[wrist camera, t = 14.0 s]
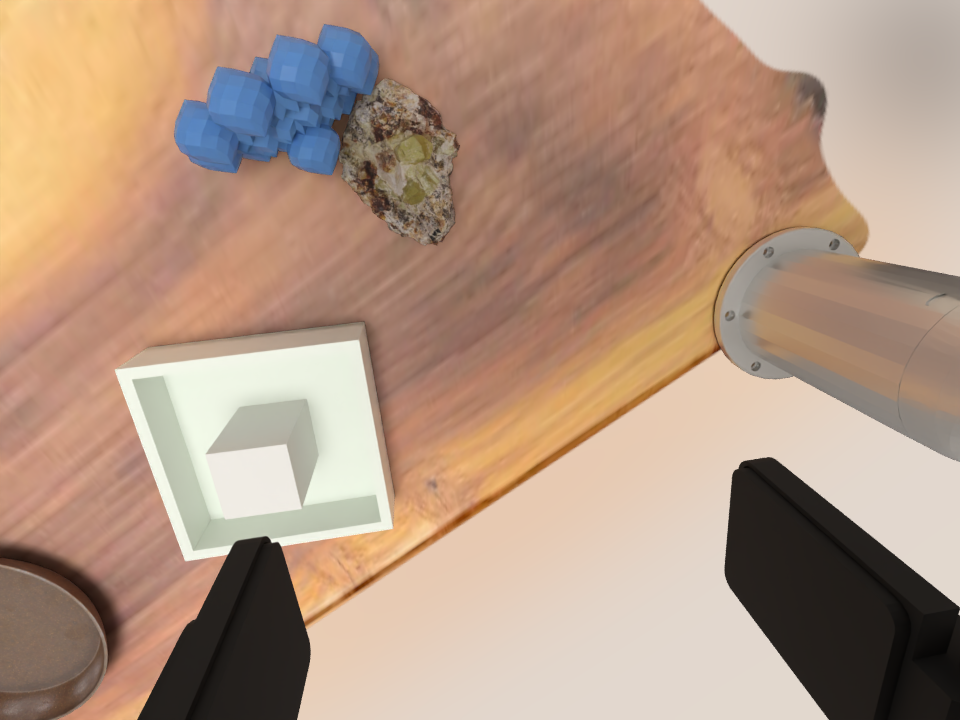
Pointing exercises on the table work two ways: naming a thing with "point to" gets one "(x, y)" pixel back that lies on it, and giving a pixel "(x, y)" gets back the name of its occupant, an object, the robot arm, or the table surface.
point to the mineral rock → (401, 161)
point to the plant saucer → (46, 644)
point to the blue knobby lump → (280, 104)
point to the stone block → (264, 459)
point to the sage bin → (253, 381)
